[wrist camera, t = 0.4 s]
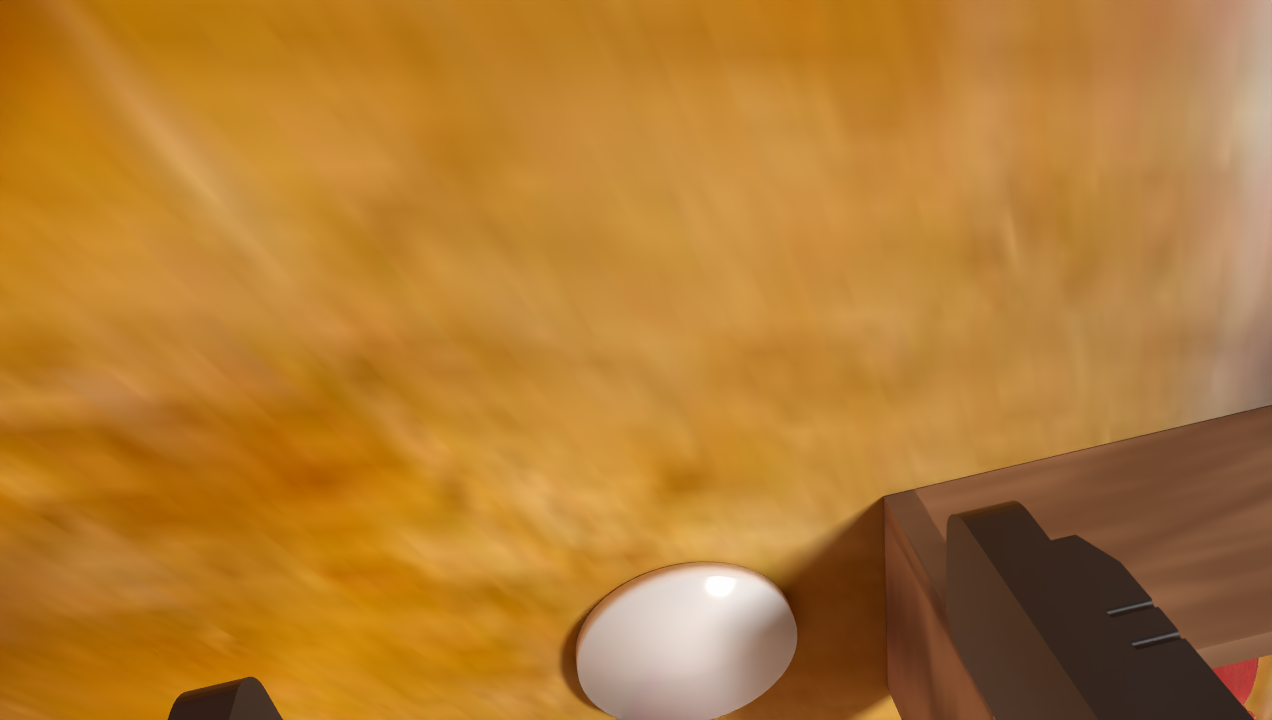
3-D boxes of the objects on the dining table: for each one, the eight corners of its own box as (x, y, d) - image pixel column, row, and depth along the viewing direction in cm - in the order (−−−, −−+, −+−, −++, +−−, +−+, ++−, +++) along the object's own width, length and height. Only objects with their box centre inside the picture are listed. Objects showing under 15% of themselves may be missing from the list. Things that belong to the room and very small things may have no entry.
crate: (883, 496, 35) (994, 698, 28) (1387, 378, 36) (1625, 546, 28) (887, 688, 42) (977, 890, 35) (1310, 586, 43) (1486, 764, 35)
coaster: (553, 593, 35) (555, 609, 35) (783, 539, 36) (789, 554, 35) (598, 729, 41) (600, 746, 40) (798, 681, 41) (804, 697, 40)
